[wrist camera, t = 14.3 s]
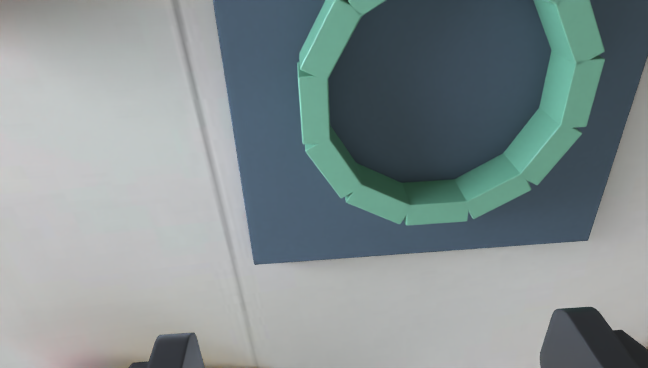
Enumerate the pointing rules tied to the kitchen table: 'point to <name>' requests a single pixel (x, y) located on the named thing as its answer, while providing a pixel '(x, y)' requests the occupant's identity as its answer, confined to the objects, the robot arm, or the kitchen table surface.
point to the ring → (487, 179)
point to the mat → (416, 120)
